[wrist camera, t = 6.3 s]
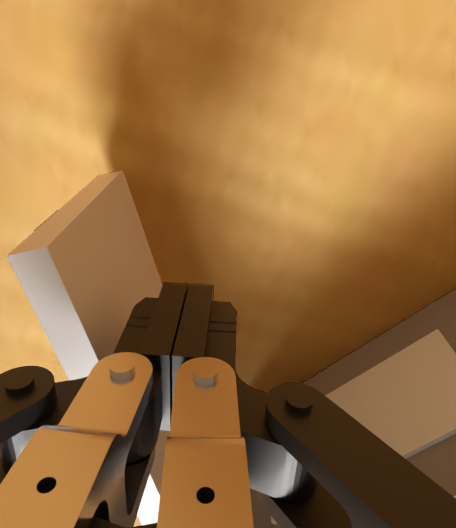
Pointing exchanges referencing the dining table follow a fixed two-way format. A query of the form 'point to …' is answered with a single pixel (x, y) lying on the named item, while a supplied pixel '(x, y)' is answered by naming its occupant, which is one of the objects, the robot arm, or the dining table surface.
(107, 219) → the side door
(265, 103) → the dining table surface
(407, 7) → the dining table surface
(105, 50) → the dining table surface
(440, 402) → the box
